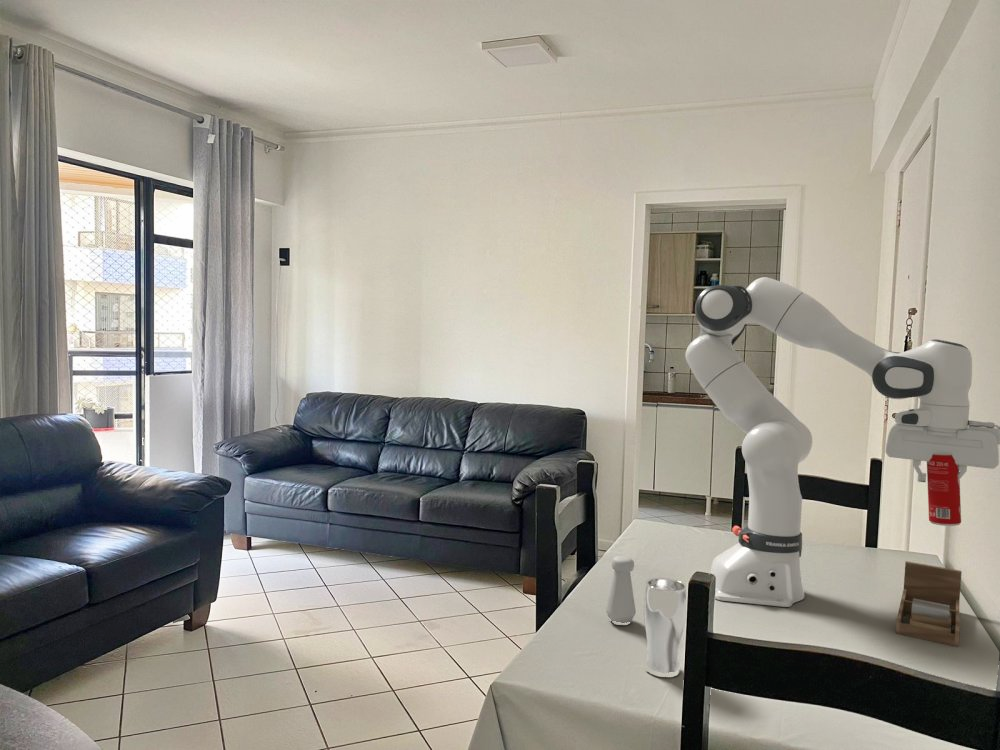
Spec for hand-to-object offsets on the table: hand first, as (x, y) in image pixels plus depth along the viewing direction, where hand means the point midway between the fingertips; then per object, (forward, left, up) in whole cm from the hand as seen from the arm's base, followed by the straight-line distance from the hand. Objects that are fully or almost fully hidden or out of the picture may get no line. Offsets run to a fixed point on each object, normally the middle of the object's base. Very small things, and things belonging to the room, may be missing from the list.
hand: (937, 483), depth 151 cm
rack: (-3, -4, -28) cm, 28 cm away
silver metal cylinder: (-4, -8, -28) cm, 29 cm away
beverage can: (+1, -1, -8) cm, 9 cm away
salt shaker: (-67, -10, -28) cm, 73 cm away
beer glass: (-63, -30, -28) cm, 75 cm away
